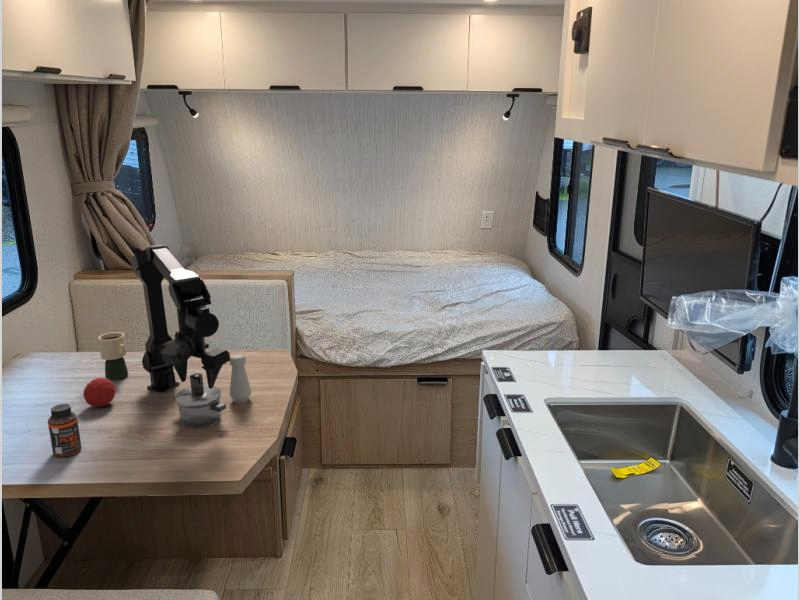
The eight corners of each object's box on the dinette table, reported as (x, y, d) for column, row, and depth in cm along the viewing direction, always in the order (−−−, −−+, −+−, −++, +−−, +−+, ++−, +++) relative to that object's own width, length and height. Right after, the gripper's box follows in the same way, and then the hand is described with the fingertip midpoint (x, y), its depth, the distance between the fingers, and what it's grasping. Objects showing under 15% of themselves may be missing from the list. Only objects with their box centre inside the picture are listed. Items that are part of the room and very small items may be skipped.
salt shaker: (246, 405, 166) (242, 360, 162) (226, 404, 167) (222, 359, 164) (255, 396, 172) (251, 352, 168) (236, 394, 173) (232, 351, 169)
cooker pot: (163, 420, 158) (160, 399, 157) (192, 404, 167) (190, 384, 165) (210, 434, 152) (208, 411, 150) (238, 416, 160) (236, 395, 158)
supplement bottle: (62, 461, 140) (54, 415, 137) (48, 453, 143) (39, 409, 140) (87, 449, 145) (80, 405, 142) (72, 442, 148) (65, 399, 145)
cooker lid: (165, 401, 155) (163, 379, 154) (198, 385, 165) (195, 364, 163) (198, 410, 150) (196, 388, 149) (229, 393, 160) (228, 371, 158)
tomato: (108, 378, 163) (91, 367, 166) (86, 403, 160) (70, 391, 163) (126, 392, 169) (110, 381, 173) (105, 416, 166) (89, 404, 170)
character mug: (139, 376, 186) (133, 335, 182) (118, 385, 180) (112, 343, 176) (116, 369, 191) (110, 329, 187) (95, 377, 185) (88, 336, 181)
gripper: (137, 330, 149) (145, 390, 154) (195, 342, 141) (202, 404, 146) (172, 317, 159) (179, 373, 163) (229, 328, 151) (234, 387, 155)
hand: (197, 384), depth 157 cm, fingers open, 9 cm apart
